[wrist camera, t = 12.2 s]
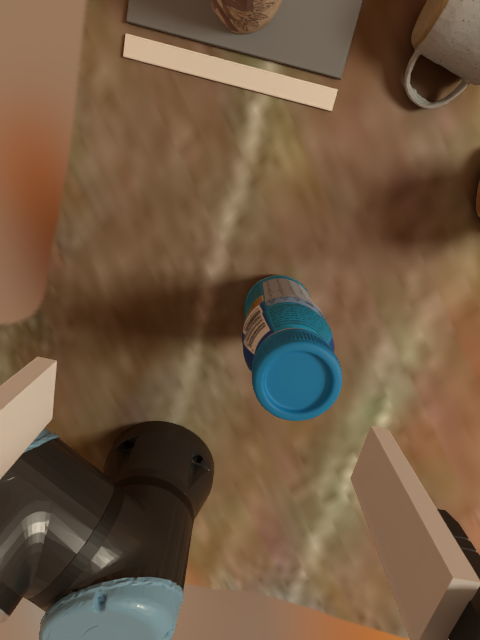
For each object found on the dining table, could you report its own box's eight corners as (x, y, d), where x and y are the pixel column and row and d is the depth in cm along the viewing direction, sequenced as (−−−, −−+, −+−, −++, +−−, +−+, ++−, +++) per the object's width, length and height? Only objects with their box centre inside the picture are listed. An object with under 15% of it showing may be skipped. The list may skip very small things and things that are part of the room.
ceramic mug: (433, -26, 36) (479, -79, 29) (507, 11, 37) (569, -31, 30) (379, 92, 40) (408, 71, 32) (448, 124, 40) (491, 111, 33)
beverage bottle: (300, 263, 45) (339, 314, 26) (319, 326, 48) (367, 415, 29) (233, 285, 46) (224, 351, 27) (255, 346, 49) (261, 445, 30)
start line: (331, 111, 40) (331, 110, 40) (124, 57, 39) (123, 56, 39) (337, 90, 39) (337, 89, 39) (126, 34, 38) (125, 33, 38)
